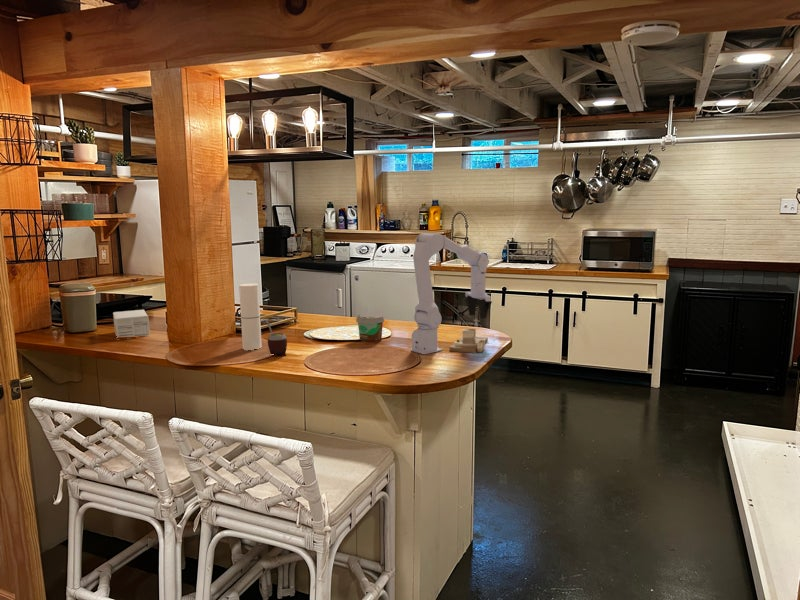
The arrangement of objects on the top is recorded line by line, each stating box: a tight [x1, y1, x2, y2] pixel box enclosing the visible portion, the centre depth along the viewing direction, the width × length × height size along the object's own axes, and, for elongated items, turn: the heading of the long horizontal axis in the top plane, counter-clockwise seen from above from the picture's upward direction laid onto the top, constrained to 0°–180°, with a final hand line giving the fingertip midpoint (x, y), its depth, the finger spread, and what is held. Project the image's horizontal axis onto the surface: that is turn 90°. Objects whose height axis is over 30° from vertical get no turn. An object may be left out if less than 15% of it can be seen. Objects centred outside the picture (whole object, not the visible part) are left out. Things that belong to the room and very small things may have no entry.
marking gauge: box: [454, 328, 486, 353], centre depth 219 cm, size 6×11×7 cm, turn 69°
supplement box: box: [112, 309, 151, 339], centre depth 255 cm, size 17×13×9 cm
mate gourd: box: [261, 317, 288, 358], centre depth 214 cm, size 8×8×15 cm
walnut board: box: [449, 336, 489, 354], centre depth 226 cm, size 20×10×2 cm, turn 159°
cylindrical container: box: [238, 283, 263, 351], centre depth 225 cm, size 7×7×25 cm
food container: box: [355, 314, 385, 343], centre depth 236 cm, size 12×6×10 cm, turn 62°
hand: (477, 316), depth 232 cm, fingers open, 7 cm apart
